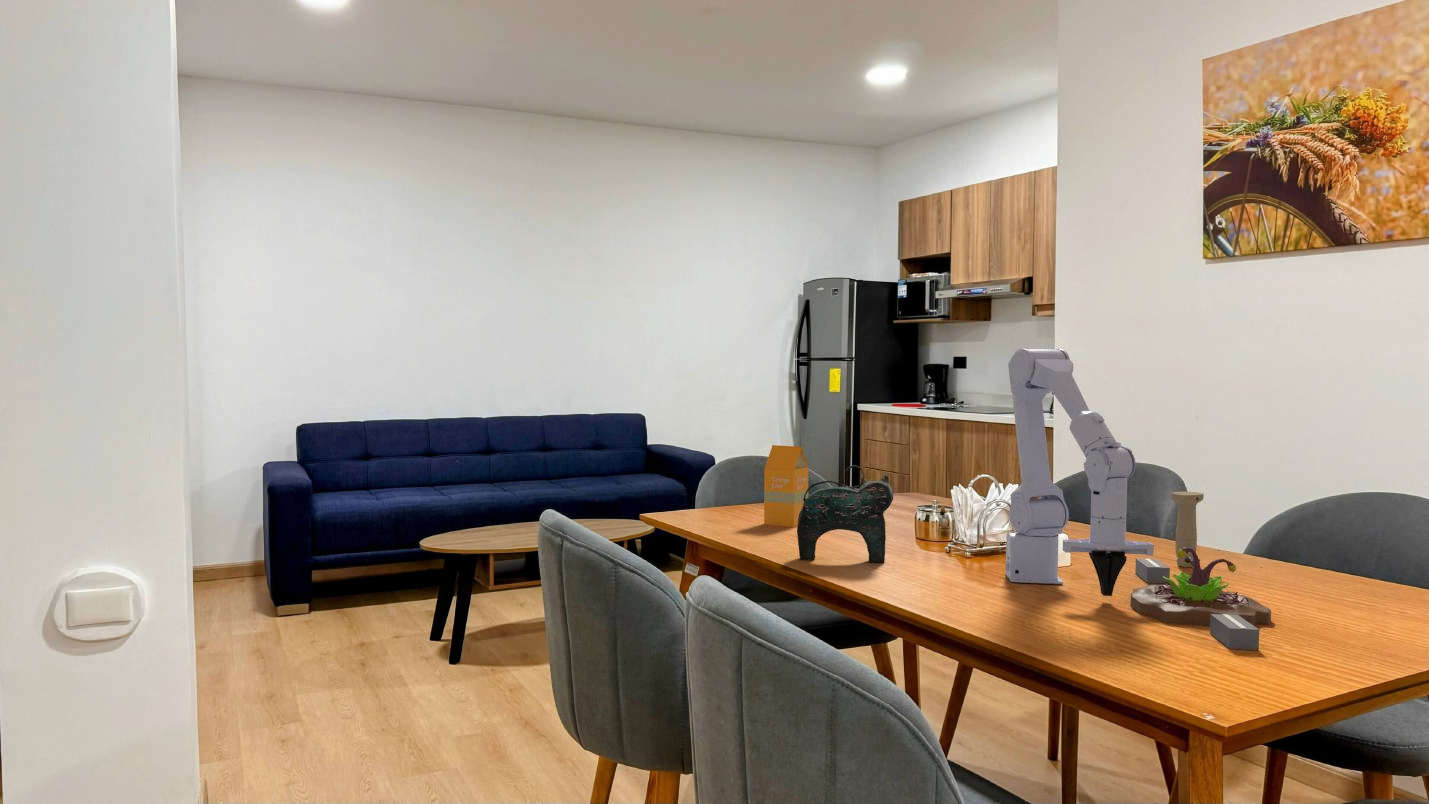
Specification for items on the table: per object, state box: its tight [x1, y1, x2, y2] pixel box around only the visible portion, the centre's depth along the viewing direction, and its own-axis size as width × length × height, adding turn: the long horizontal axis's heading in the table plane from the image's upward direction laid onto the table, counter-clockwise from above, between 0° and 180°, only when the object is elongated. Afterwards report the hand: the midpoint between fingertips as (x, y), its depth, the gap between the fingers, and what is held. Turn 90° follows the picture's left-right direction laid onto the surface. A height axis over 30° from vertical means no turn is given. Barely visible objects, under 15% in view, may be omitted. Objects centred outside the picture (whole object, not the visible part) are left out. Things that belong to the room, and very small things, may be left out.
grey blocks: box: [1134, 558, 1260, 651], centre depth 163 cm, size 4×50×3 cm, turn 171°
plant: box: [1130, 547, 1272, 627], centre depth 159 cm, size 20×20×11 cm
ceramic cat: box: [796, 464, 894, 564], centre depth 199 cm, size 20×6×20 cm, turn 80°
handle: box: [1170, 491, 1205, 569], centre depth 194 cm, size 5×6×15 cm
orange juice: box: [763, 444, 809, 528], centre depth 244 cm, size 8×9×20 cm
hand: (1106, 594), depth 165 cm, fingers closed
